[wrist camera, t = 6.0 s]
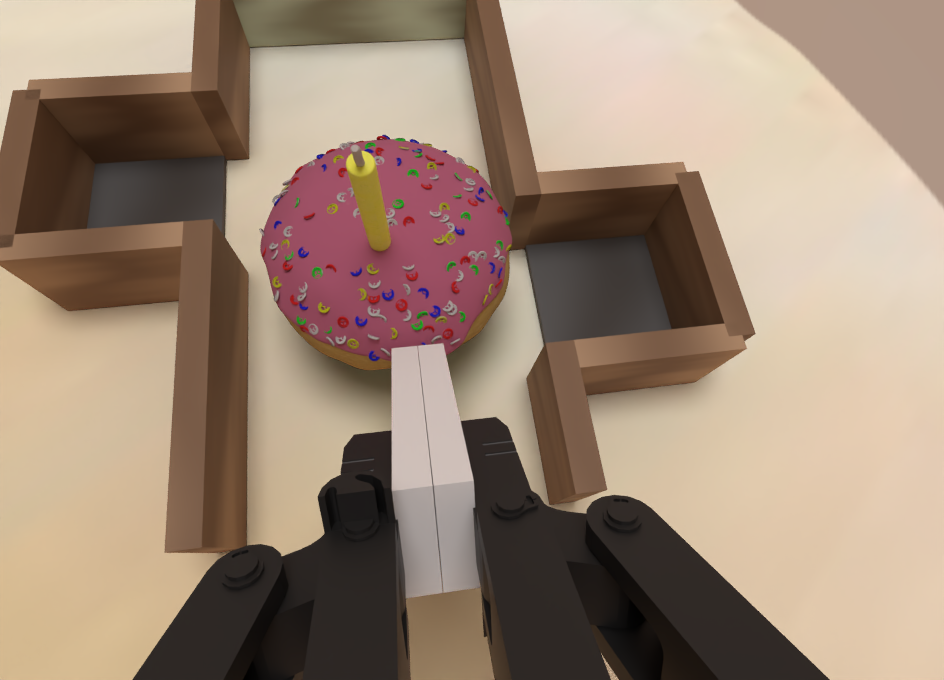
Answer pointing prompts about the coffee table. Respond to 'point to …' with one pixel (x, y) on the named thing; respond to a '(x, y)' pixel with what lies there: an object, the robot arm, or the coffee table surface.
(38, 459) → the coffee table surface
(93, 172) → the trap lane
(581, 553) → the robot arm
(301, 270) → the cupcake
